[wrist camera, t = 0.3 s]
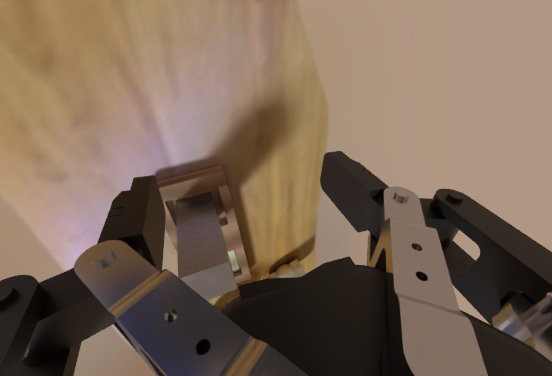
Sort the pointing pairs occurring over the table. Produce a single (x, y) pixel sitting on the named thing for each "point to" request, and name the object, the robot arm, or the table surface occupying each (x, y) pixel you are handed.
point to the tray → (218, 186)
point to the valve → (288, 270)
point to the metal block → (202, 247)
